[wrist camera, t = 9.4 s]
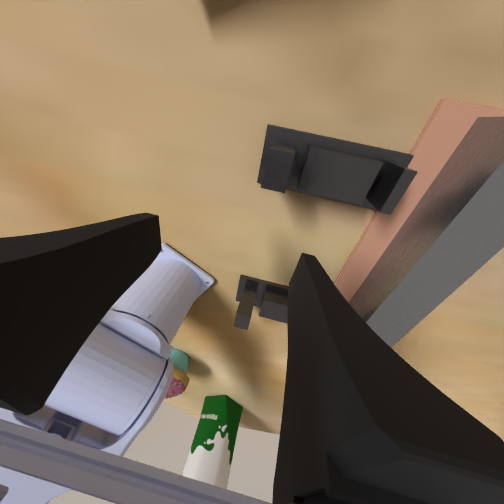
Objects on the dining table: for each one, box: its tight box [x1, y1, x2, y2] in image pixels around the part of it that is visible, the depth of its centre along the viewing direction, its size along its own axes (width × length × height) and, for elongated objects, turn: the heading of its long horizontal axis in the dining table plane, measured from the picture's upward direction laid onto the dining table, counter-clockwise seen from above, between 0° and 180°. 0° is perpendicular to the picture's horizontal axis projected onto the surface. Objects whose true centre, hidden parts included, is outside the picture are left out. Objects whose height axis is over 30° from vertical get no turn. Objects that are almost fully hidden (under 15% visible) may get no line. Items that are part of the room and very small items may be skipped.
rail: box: [349, 117, 504, 347], centre depth 18 cm, size 26×4×4 cm, turn 170°
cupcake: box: [164, 349, 189, 399], centre depth 35 cm, size 9×8×12 cm
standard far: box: [234, 275, 289, 330], centre depth 23 cm, size 4×11×5 cm, turn 80°
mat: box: [334, 99, 504, 303], centre depth 20 cm, size 27×9×1 cm, turn 170°
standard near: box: [257, 124, 418, 215], centre depth 14 cm, size 4×11×5 cm, turn 80°
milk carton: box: [182, 395, 243, 489], centre depth 41 cm, size 9×9×20 cm
